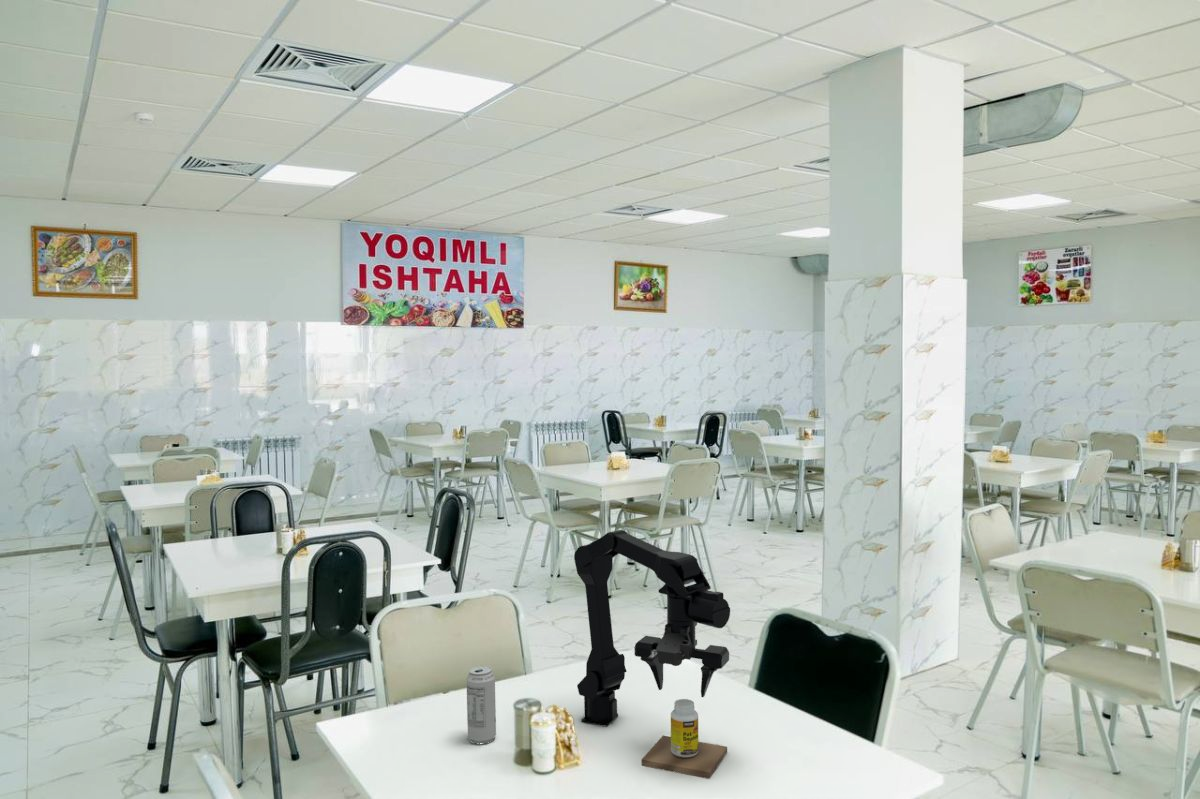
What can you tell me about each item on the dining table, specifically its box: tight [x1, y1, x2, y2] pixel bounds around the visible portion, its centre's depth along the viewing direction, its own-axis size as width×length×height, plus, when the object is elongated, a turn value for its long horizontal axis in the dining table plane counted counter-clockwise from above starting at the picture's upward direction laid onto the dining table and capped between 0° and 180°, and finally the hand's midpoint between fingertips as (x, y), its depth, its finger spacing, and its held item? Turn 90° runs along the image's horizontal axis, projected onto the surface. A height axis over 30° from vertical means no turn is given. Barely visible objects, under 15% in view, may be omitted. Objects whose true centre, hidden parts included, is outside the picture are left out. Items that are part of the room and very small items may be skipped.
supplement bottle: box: [670, 698, 699, 758], centre depth 170 cm, size 6×6×10 cm
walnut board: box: [641, 734, 728, 779], centre depth 170 cm, size 14×12×1 cm
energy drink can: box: [466, 665, 497, 745], centre depth 181 cm, size 6×6×15 cm
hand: (681, 693), depth 173 cm, fingers open, 9 cm apart
